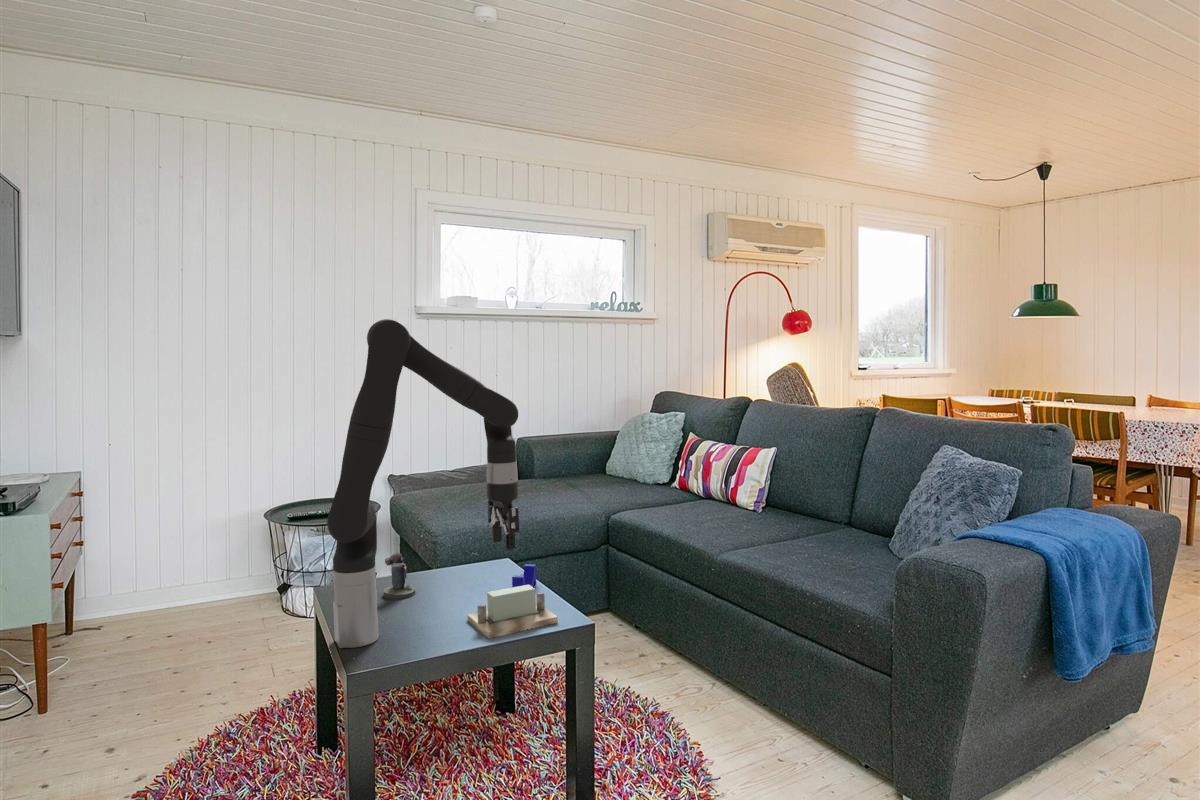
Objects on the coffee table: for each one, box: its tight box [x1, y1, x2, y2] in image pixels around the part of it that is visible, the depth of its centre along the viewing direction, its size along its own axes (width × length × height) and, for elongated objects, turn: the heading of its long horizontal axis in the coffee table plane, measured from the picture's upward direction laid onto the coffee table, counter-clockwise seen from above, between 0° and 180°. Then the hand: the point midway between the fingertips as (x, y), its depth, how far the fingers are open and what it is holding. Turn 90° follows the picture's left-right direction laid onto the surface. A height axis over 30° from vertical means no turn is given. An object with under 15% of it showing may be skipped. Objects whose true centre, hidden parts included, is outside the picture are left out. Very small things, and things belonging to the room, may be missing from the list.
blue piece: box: [511, 563, 537, 588], centre depth 200 cm, size 12×4×6 cm, turn 168°
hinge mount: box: [467, 592, 559, 639], centre depth 177 cm, size 18×14×6 cm
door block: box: [486, 585, 537, 621], centre depth 177 cm, size 11×4×6 cm, turn 119°
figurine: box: [383, 552, 416, 600], centre depth 200 cm, size 8×8×12 cm
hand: (503, 545), depth 177 cm, fingers open, 8 cm apart
